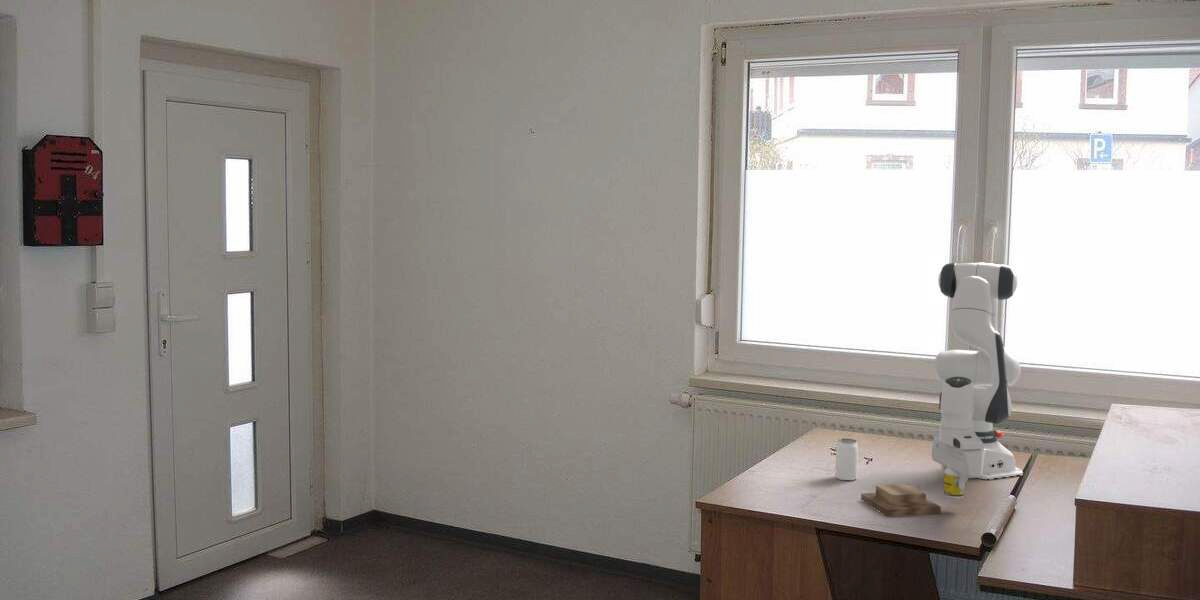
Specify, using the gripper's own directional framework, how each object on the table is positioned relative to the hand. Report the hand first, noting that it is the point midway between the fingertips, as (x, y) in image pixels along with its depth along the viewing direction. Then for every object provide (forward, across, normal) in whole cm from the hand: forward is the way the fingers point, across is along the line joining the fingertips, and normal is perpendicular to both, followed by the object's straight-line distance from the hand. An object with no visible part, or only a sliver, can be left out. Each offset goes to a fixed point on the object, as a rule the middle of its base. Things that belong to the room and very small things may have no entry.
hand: (954, 484), depth 290 cm
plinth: (+7, -6, -13) cm, 16 cm away
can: (+8, -36, -15) cm, 40 cm away
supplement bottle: (+3, 0, 0) cm, 3 cm away
